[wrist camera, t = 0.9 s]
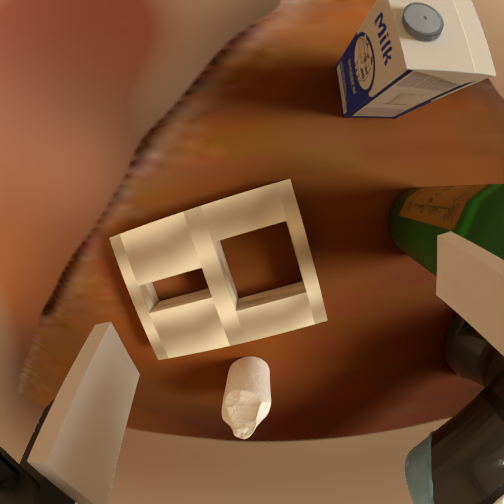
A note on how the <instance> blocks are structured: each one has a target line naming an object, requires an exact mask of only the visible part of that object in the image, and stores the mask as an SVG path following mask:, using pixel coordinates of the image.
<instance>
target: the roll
mask: <svg viewBox="0 0 504 504" xmlns="http://www.w3.org/2000/svg"><path fill="white" fill-rule="evenodd" d="M270 407H271V393H270V370H269V367H268V365H267V363H266V362H265V361H263V360H262V359H260V358H258V357H254V356H248V357H243V358H241V359H238V360H236V361H235V362H234V363H233V364H232V365H231V367H230V369H229V372H228V377H227V383H226V388H225V393H224V398H223V405H222V418H223V420H224V421H225V422H226V423H227V424H229V425H230V427H231V428H232V430H233V434H234V436H236V437H239V438H241V439H247V438H248V437H250V436H251V435H252V434H253V432H254V430H255V428H256V427H257V425H258V424H259V423H260V422H261V421H262V420H263V419H264V418H265V417H266V416H267V414H268V412H269V410H270Z"/></svg>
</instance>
